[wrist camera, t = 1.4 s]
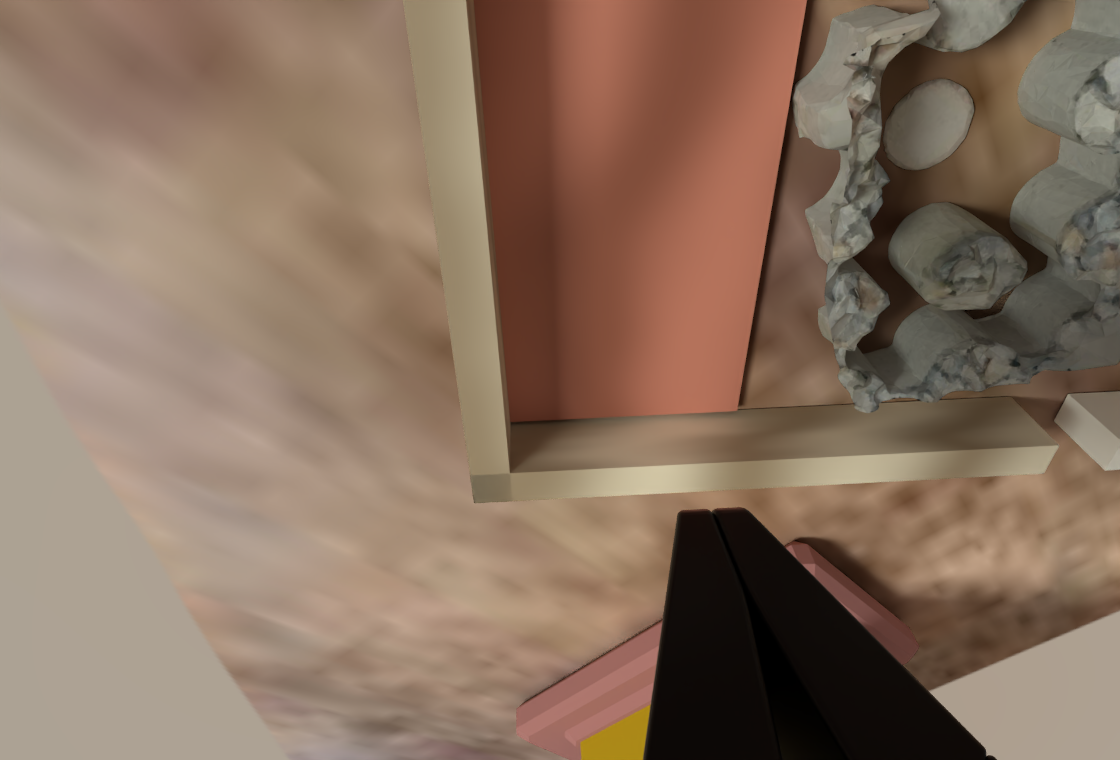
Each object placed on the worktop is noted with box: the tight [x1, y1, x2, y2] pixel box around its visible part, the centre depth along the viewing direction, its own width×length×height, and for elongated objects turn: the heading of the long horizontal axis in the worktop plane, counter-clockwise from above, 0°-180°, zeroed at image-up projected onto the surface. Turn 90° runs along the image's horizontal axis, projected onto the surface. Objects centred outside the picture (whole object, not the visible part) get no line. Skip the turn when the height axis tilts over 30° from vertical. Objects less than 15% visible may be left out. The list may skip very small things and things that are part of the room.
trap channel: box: [403, 0, 1059, 503], centre depth 17 cm, size 18×17×2 cm
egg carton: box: [792, 0, 1120, 413], centre depth 17 cm, size 11×8×4 cm
